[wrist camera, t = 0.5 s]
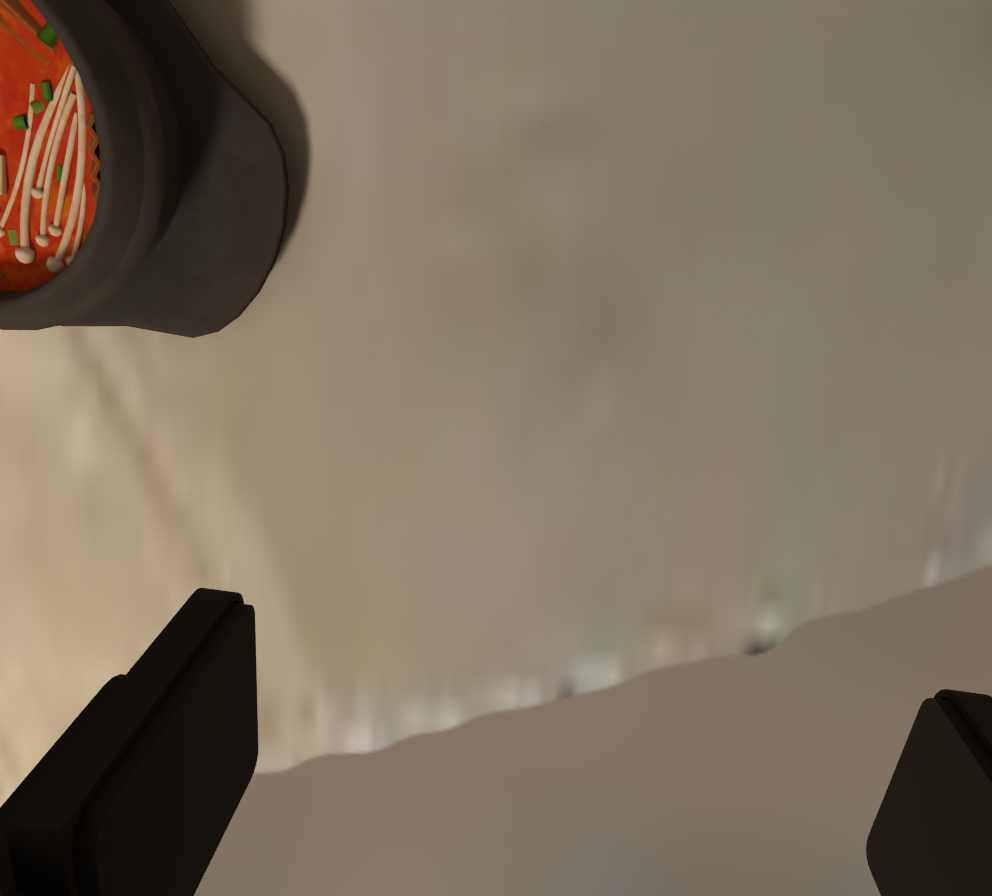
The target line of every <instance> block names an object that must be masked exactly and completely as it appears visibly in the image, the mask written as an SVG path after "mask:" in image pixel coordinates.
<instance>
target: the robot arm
mask: <svg viewBox="0 0 992 896" xmlns="http://www.w3.org/2000/svg"><path fill="white" fill-rule="evenodd" d="M257 757H258V720H257V680H256V639H255V611H254V608H253V606H252V605H246V604H244V602H243V598H242V595H241V594H239V593H236V592H228V591H221V590H214V589H206V588H199V589H197V590H196V591H195V592H194V593H193V594H192V595H191V596H190V598H189V599H188V600H187V601H186V603H185V604H184V605H183V606H182V607H181V609H180V610H179V611H178V612H177V613H176V615H175V616H174V617H173V618H172V620H171V621H170V622H169V623H168V624H167V626H166V627H165V628H164V629H163V630H162V632H161V633H160V634H159V635H158V637H157V638H156V639H155V640H154V641H153V643H152V644H151V645H150V646H149V647H148V649H147V650H146V651H145V652H144V654H143V655H142V656H141V657H140V658H139V660H138V661H137V662H136V663H135V664H134V666H133V667H132V668H131V669H130V671H129V672H128V673H127V674H126V675H122V674H120V675H118V676H115V677H113V678H112V679H110V680H109V681H108V682H107V683H106V684H105V685H104V686H103V687H102V688H101V690H100V691H99V692H98V693H97V694H96V696H95V697H94V698H93V699H92V700H91V701H90V703H89V704H88V705H87V706H86V707H85V708H84V710H83V711H82V712H81V713H80V714H79V716H78V717H77V718H76V719H75V720H74V721H73V723H72V724H71V725H70V726H69V727H68V729H67V730H66V731H65V732H64V733H63V734H62V736H61V737H60V738H59V739H58V740H57V741H56V743H55V744H54V745H53V746H52V747H51V749H50V750H49V751H48V752H47V753H46V754H45V756H44V757H43V758H42V759H41V760H40V762H39V763H38V764H37V765H36V766H35V767H34V769H33V770H32V771H31V772H30V773H29V774H28V776H27V777H26V778H25V779H24V780H23V782H22V783H21V784H20V785H19V786H18V787H17V789H16V790H15V791H14V792H13V793H12V795H11V796H10V797H9V798H8V799H7V800H6V802H5V803H4V804H3V805H2V806H1V808H0V896H194V894H195V892H196V890H197V888H198V886H199V883H200V881H201V879H202V877H203V875H204V873H205V871H206V869H207V867H208V865H209V863H210V861H211V859H212V857H213V855H214V853H215V851H216V849H217V847H218V845H219V843H220V841H221V839H222V837H223V835H224V833H225V831H226V829H227V827H228V825H229V823H230V820H231V818H232V816H233V814H234V812H235V810H236V808H237V806H238V804H239V802H240V800H241V798H242V796H243V794H244V792H245V790H246V788H247V786H248V784H249V782H250V780H251V777H252V775H253V773H254V770H255V766H256V762H257ZM866 852H867V860H868V865H869V868H870V870H871V873H872V875H873V878H874V880H875V882H876V884H877V887H878V889H879V892H880V894H881V896H992V697H991V696H988V695H984V694H977V693H970V692H963V691H955V690H947V689H945V690H940V691H939V692H938V693H937V694H936V695H935V697H934V698H928V699H926V700H925V701H924V702H923V703H922V705H921V707H920V709H919V711H918V714H917V717H916V719H915V721H914V724H913V726H912V729H911V732H910V734H909V737H908V739H907V741H906V744H905V746H904V749H903V751H902V754H901V756H900V759H899V761H898V764H897V766H896V769H895V771H894V774H893V776H892V779H891V781H890V784H889V786H888V789H887V791H886V794H885V796H884V799H883V801H882V804H881V806H880V808H879V811H878V814H877V816H876V818H875V821H874V823H873V826H872V828H871V831H870V834H869V836H868V840H867V847H866Z"/></svg>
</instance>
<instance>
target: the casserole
mask: <svg viewBox="0 0 992 896" xmlns="http://www.w3.org/2000/svg"><path fill="white" fill-rule="evenodd" d="M288 194H289V185H288V177H287V168H286V159H285V154H284V152H283V149H282V147H281V145H280V142H279V140H278V138H277V135H276V133H275V131H274V129H273V126H272V124H271V123H270V122H269V121H268V120H267V119H266V118H265V117H264V115H263V114H262V113H261V112H260V111H259V110H258V109H257V108H256V107H255V106H254V105H253V104H252V103H251V102H250V101H249V100H248V99H247V98H246V97H245V96H244V95H243V94H242V93H241V92H240V91H239V90H238V89H237V88H236V87H235V86H234V85H233V84H232V82H231V81H230V80H229V79H228V78H227V77H226V76H225V75H224V74H223V73H222V72H221V71H220V70H219V69H218V68H217V67H216V66H215V65H214V64H213V63H212V61H211V60H210V58H209V57H208V55H207V54H206V53H205V51H204V50H203V48H202V47H201V45H200V44H199V43H198V41H197V40H196V38H195V37H194V35H193V34H192V33H191V31H190V30H189V28H188V27H187V26H186V24H185V23H184V21H183V20H182V18H181V17H180V16H179V14H178V13H177V11H176V10H175V9H174V7H173V6H172V4H171V3H170V2H169V0H0V329H2V330H39V329H44V328H49V327H54V326H58V325H59V326H131V327H136V328H142V329H147V330H153V331H158V332H164V333H169V334H175V335H180V336H186V337H191V338H194V337H198V336H202V335H206V334H210V333H214V332H218V331H220V330H221V329H223V328H224V327H225V326H227V325H228V324H229V323H231V322H232V321H233V320H235V319H236V318H238V317H239V316H240V315H241V314H242V313H243V311H244V310H245V309H246V308H247V307H248V305H249V304H250V303H251V302H252V301H253V299H254V298H255V297H256V296H257V295H258V293H259V292H260V291H261V289H262V287H263V285H264V283H265V281H266V279H267V277H268V275H269V273H270V271H271V270H272V268H273V266H274V264H275V262H276V259H277V256H278V252H279V248H280V245H281V241H282V237H283V234H284V230H285V227H286V217H287V205H288Z"/></svg>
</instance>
